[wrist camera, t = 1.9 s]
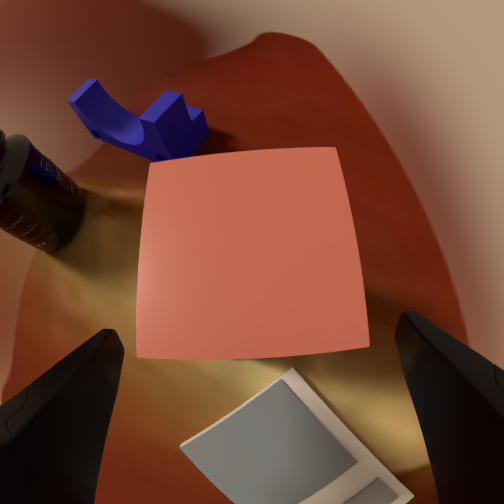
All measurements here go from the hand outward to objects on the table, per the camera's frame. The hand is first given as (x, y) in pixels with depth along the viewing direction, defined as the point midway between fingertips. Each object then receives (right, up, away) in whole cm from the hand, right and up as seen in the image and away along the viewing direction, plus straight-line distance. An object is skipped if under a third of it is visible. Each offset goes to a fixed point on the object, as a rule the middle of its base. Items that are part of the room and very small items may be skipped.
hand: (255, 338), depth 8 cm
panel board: (+4, -13, +6) cm, 14 cm away
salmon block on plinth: (0, -1, +10) cm, 10 cm away
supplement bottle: (-18, +5, +13) cm, 23 cm away
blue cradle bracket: (-10, +13, +16) cm, 23 cm away
